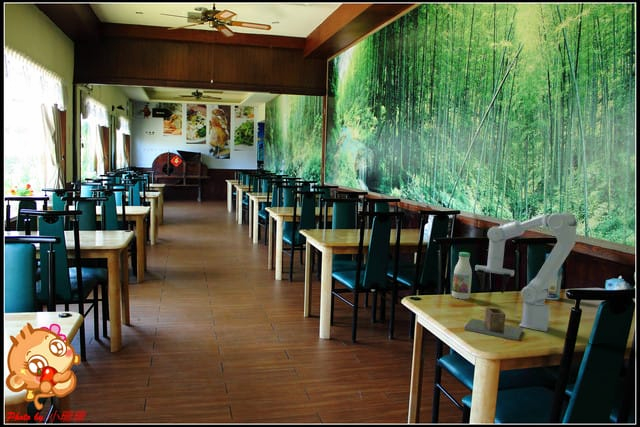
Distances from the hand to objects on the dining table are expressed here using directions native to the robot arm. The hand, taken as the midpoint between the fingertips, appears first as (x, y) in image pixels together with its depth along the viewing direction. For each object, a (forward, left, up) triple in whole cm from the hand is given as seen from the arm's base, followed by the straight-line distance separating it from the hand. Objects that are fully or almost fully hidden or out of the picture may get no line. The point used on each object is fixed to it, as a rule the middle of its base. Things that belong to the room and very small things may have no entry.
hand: (492, 291), depth 208 cm
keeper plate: (-5, +21, -9) cm, 24 cm away
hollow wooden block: (-5, +21, -8) cm, 23 cm away
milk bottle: (+16, -19, -10) cm, 27 cm away
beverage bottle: (-18, -48, -10) cm, 52 cm away
